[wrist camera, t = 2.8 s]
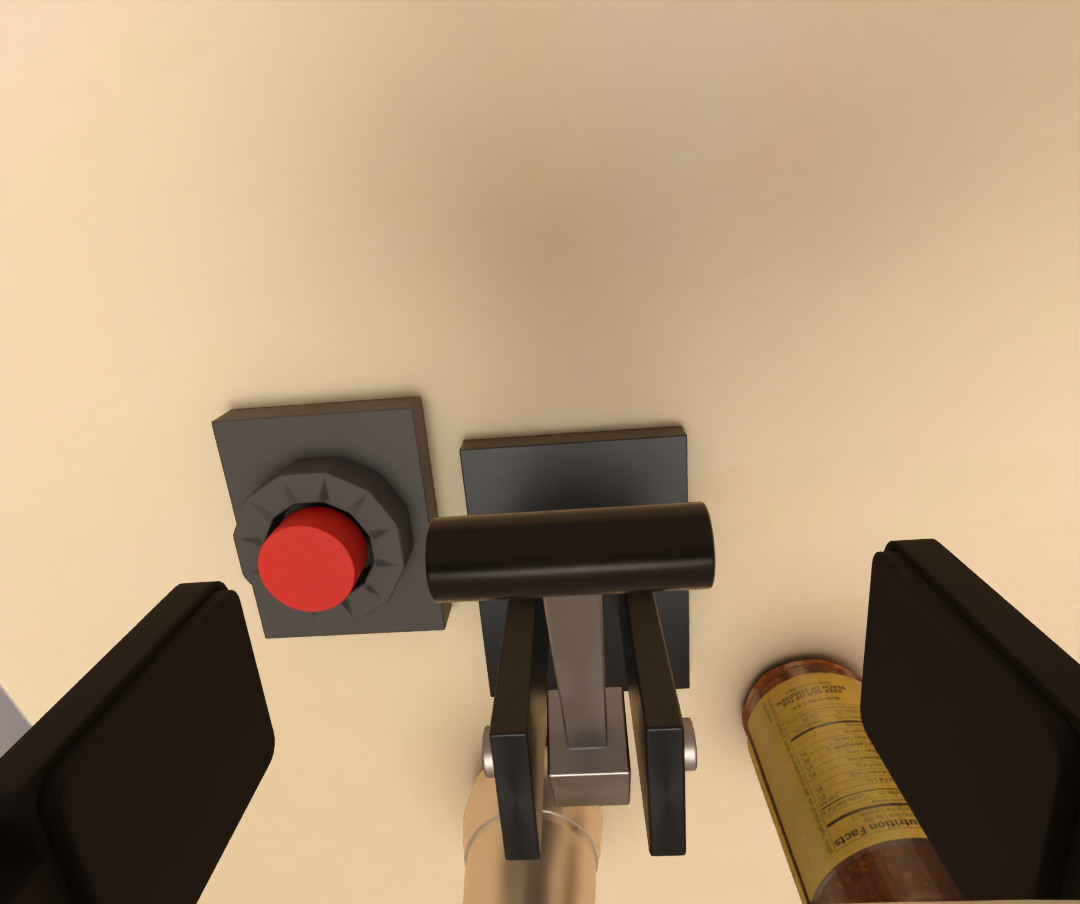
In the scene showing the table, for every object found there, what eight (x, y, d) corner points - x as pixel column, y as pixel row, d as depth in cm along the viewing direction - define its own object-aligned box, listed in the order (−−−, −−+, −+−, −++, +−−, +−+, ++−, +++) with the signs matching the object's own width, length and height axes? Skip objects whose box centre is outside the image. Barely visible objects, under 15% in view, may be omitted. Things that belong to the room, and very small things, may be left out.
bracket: (463, 440, 29) (388, 610, 17) (682, 425, 28) (770, 591, 16) (493, 680, 33) (450, 958, 21) (685, 671, 32) (757, 952, 20)
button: (267, 508, 26) (247, 528, 25) (359, 503, 26) (345, 522, 25) (286, 590, 28) (268, 614, 26) (374, 585, 27) (362, 610, 26)
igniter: (230, 409, 28) (186, 436, 25) (421, 396, 28) (401, 421, 25) (279, 617, 32) (247, 665, 29) (451, 608, 31) (438, 656, 28)
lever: (431, 483, 13) (417, 595, 11) (700, 466, 13) (724, 579, 11) (509, 727, 22) (507, 809, 20) (667, 721, 22) (678, 803, 20)
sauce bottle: (857, 761, 33) (1227, 1467, 15) (727, 753, 34) (932, 1443, 15) (886, 647, 31) (1364, 1305, 12) (747, 638, 31) (1016, 1279, 13)
